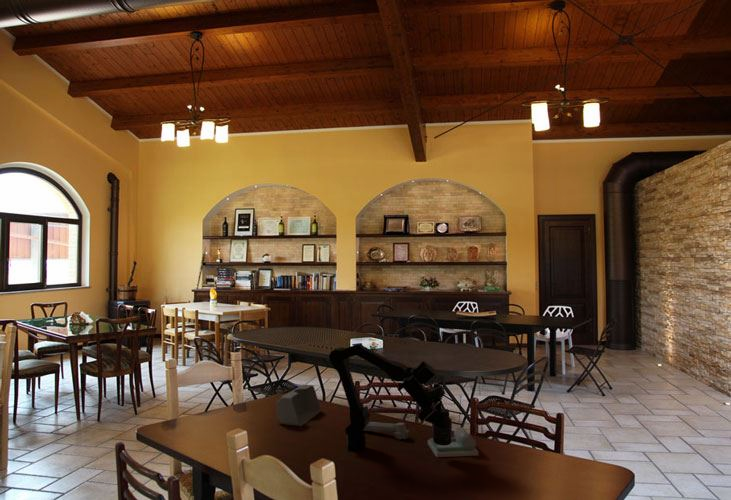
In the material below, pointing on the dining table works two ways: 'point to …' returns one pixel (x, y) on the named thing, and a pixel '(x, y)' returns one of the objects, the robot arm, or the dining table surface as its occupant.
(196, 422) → the dining table surface
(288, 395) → the grey faceted block
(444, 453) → the motor mount
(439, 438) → the supplement bottle
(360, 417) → the robot arm
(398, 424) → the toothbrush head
